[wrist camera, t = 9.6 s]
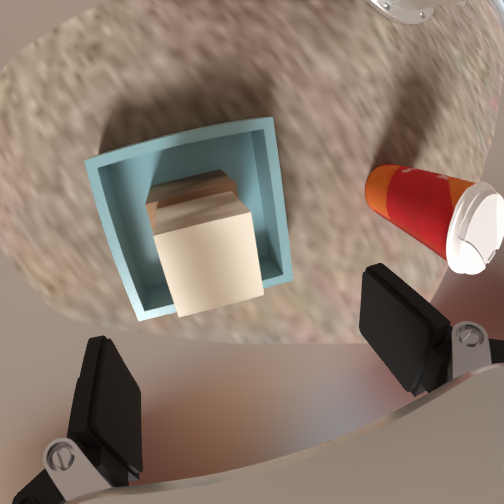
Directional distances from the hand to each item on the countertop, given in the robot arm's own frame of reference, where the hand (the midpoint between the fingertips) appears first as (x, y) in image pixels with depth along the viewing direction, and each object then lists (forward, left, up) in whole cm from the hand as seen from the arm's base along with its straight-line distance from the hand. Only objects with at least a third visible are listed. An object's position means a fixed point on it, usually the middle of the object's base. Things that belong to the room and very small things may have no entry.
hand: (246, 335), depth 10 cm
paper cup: (-20, +2, -18) cm, 27 cm away
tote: (0, 0, -18) cm, 18 cm away
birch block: (0, 0, -11) cm, 11 cm away
